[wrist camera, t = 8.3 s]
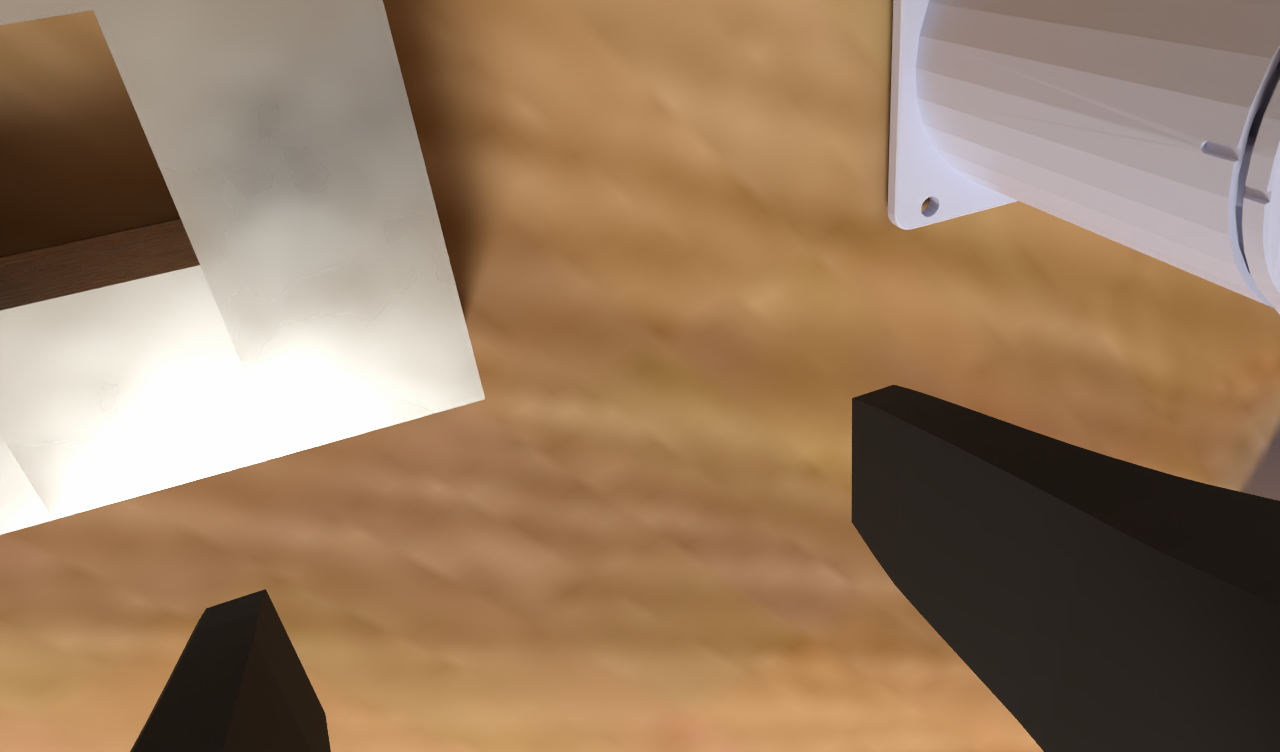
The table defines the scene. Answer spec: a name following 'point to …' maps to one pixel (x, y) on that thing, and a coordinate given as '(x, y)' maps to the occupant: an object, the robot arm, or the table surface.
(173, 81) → the block
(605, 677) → the table surface
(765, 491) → the table surface
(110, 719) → the table surface
